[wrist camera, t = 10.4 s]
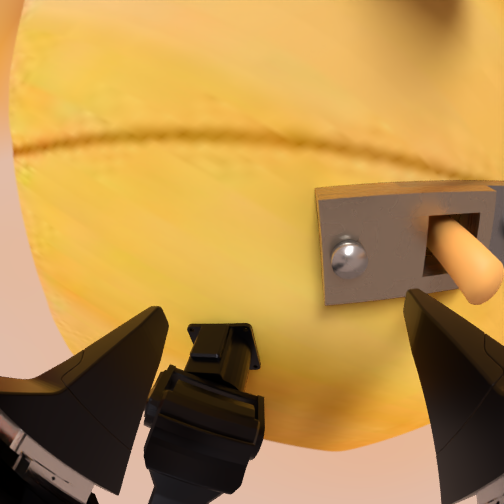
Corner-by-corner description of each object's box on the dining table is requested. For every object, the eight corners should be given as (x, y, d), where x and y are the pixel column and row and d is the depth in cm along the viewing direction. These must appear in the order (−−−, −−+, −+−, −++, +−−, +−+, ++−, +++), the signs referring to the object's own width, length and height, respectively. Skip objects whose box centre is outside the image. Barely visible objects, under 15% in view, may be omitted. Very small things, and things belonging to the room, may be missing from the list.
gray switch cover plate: (465, 266, 20) (485, 290, 16) (322, 283, 22) (325, 314, 19) (476, 180, 16) (504, 195, 13) (314, 188, 19) (319, 205, 16)
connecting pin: (449, 245, 19) (496, 300, 12) (418, 248, 20) (460, 308, 13) (453, 209, 18) (508, 256, 11) (420, 211, 18) (472, 261, 11)
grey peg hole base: (506, 259, 18) (519, 272, 16) (391, 276, 21) (399, 293, 19) (518, 181, 15) (535, 190, 13) (394, 182, 18) (406, 191, 16)
